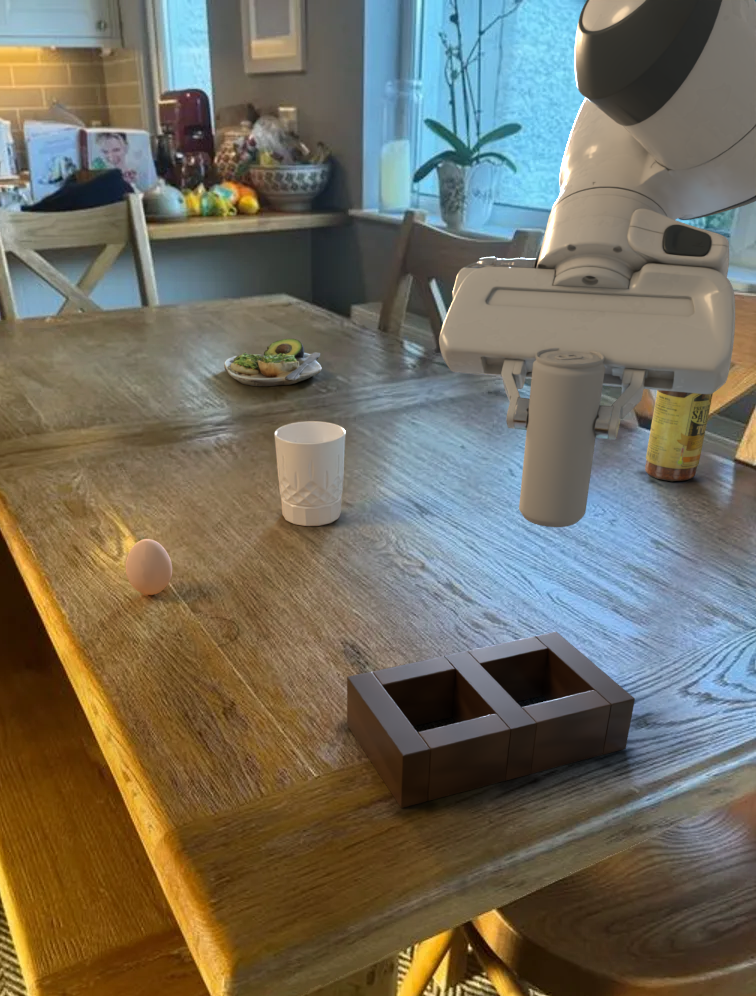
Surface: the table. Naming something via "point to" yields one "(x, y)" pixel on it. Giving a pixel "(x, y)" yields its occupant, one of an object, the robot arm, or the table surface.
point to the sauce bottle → (677, 434)
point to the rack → (485, 716)
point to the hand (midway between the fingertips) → (560, 430)
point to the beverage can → (560, 436)
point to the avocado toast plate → (274, 365)
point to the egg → (148, 567)
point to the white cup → (310, 471)
